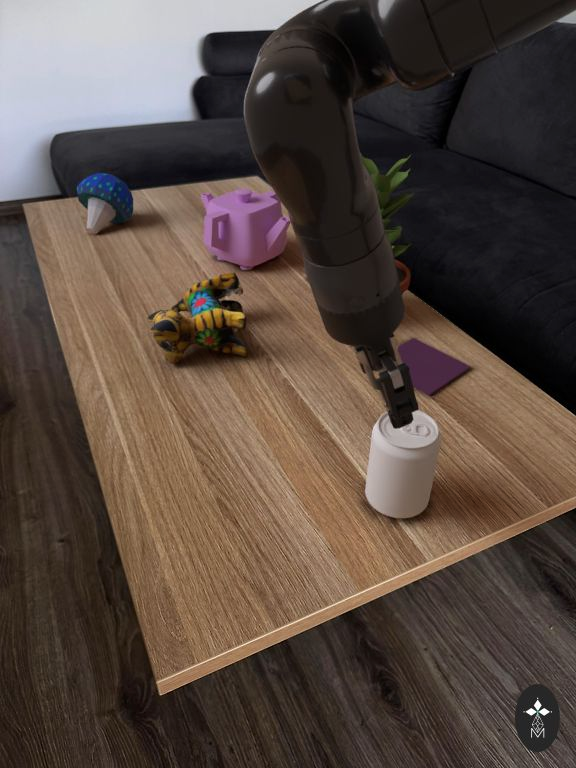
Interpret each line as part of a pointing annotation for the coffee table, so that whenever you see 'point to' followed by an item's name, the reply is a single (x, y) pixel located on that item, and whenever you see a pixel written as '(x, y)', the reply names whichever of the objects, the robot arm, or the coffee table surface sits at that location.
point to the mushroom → (105, 200)
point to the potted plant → (391, 209)
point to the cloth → (429, 366)
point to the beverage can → (402, 465)
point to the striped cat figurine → (202, 319)
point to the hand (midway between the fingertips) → (386, 394)
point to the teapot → (245, 227)
